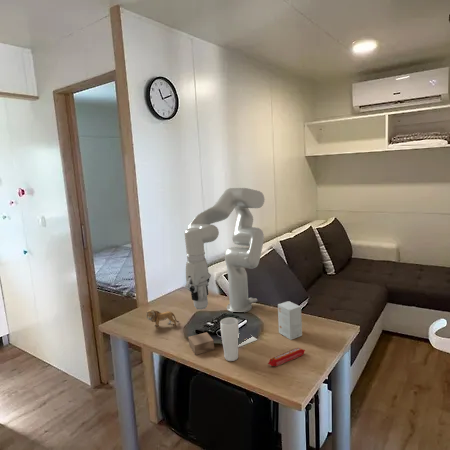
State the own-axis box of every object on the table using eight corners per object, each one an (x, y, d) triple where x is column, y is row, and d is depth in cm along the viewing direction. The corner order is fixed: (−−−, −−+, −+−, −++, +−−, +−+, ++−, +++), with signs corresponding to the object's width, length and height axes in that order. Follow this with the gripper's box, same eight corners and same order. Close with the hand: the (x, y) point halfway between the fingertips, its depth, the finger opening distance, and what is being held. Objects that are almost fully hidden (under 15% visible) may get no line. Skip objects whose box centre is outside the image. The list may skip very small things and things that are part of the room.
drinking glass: (218, 358, 138) (216, 321, 136) (231, 351, 143) (229, 315, 140) (231, 365, 134) (229, 326, 131) (244, 357, 138) (241, 320, 136)
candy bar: (299, 351, 140) (299, 344, 140) (306, 355, 137) (306, 348, 137) (266, 365, 132) (266, 358, 132) (272, 370, 129) (272, 362, 129)
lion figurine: (148, 331, 165) (146, 313, 163) (147, 326, 170) (145, 308, 168) (180, 325, 169) (178, 306, 168) (177, 320, 174) (176, 302, 173)
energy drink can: (205, 302, 161) (202, 270, 158) (210, 307, 156) (206, 274, 153) (192, 306, 159) (189, 273, 156) (196, 311, 154) (193, 277, 151)
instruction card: (244, 332, 158) (244, 331, 158) (257, 339, 151) (257, 339, 151) (221, 340, 152) (221, 340, 152) (233, 349, 144) (233, 348, 144)
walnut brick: (207, 341, 152) (206, 332, 152) (214, 349, 145) (213, 340, 144) (189, 345, 149) (188, 336, 149) (195, 354, 142) (194, 345, 141)
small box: (302, 335, 152) (301, 306, 149) (290, 340, 149) (289, 310, 146) (289, 328, 159) (289, 300, 156) (278, 332, 156) (277, 304, 153)
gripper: (202, 250, 162) (206, 288, 165) (175, 262, 149) (180, 303, 152) (215, 252, 157) (219, 291, 161) (188, 264, 144) (193, 306, 148)
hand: (200, 296), depth 157 cm, fingers closed on energy drink can, 6 cm apart
